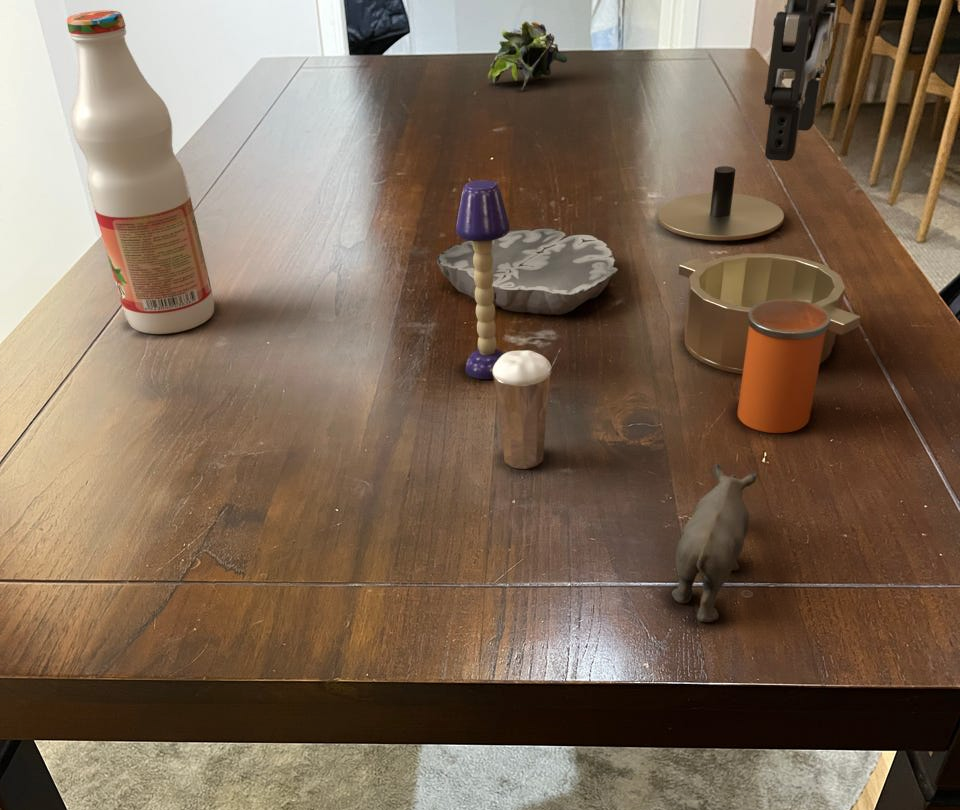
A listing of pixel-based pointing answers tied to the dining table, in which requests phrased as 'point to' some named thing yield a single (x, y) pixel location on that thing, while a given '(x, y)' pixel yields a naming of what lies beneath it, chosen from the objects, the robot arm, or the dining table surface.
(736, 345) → the pot
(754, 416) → the small canister
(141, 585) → the dining table surface
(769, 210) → the lid
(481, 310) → the toy lamp
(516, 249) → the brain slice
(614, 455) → the dining table surface
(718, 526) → the rhino figurine
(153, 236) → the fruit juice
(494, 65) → the green leafy plant
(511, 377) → the milkshake
